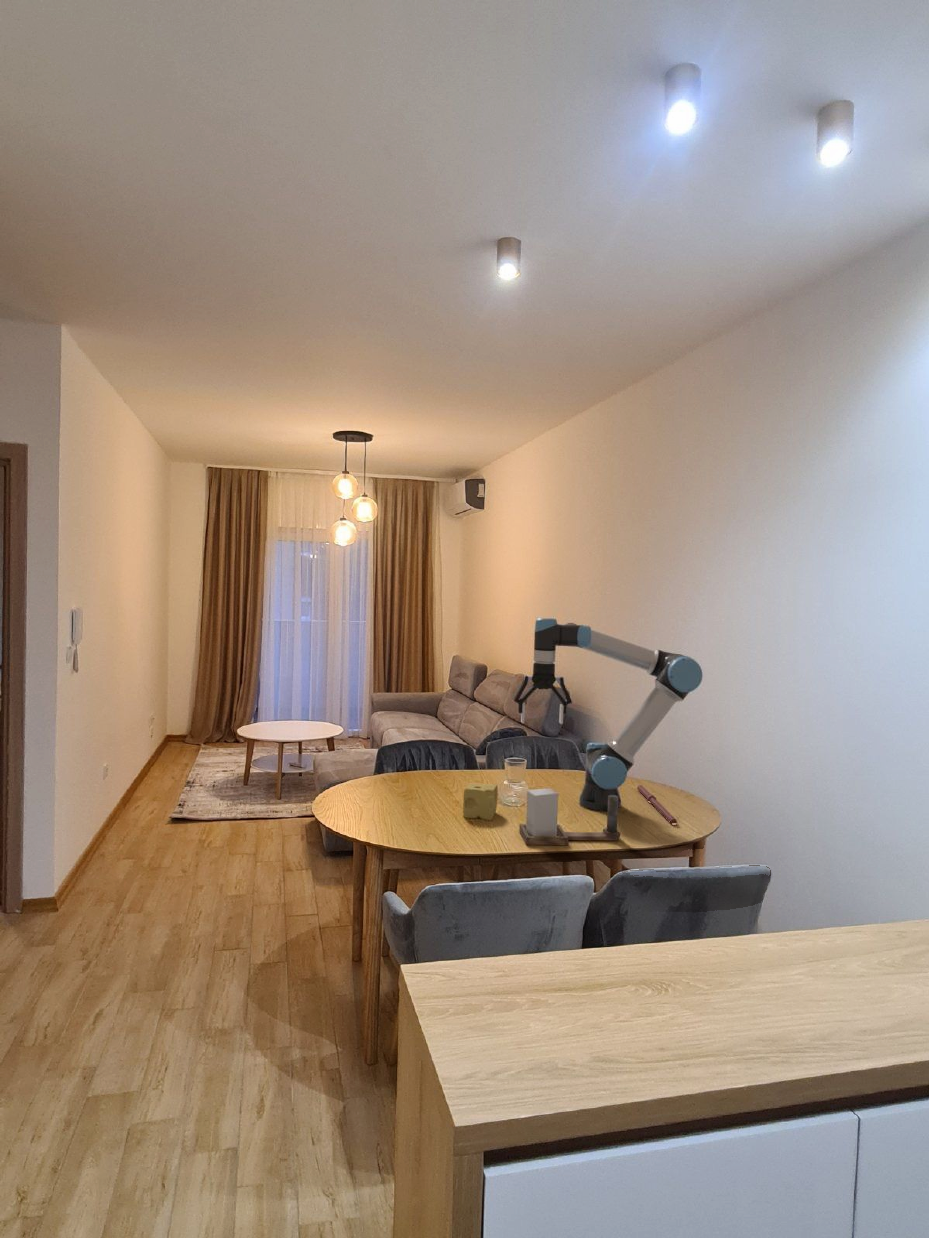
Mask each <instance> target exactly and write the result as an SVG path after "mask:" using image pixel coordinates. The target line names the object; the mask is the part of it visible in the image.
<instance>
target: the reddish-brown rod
mask: <svg viewBox="0 0 929 1238" xmlns="http://www.w3.org/2000/svg"><path fill="white" fill-rule="evenodd" d="M636 789H637V791H638V792H639V793H640V794H641V793H642V794H643V795H644V796H645V797H646V798H647V799H646V801H647V802H648V801H650V802H651V803H652V804H653V805H654V806H655V807H654V806H653V805H652V804H651V805H652V806H653V807H654V808H655V809H656V808H657V809H658V810H657V809H656V810H657V812H659V811H660V812H661V813H660V812H659V813H660V814H661V815H662V814H663V815H664V816H663V815H662V816H663V817H664V818H665V819H666V818H667V819H666V820H667V821H668V822H669V821H670V822H671V823H677V824H678V820H677V818H675V817H674V816H673V815H672V814H671V813H670V812H669V810H667V809H666V808H665V807H664V806H663V805H662V804H661V803H660V802H659V801H658V800H657V797H655V795H653V794H651V793H650V792H649V791H648V790H647V789H646V788H645V787H644V786H643V785H641V784H639V785H637V787H636ZM642 794H641V795H642ZM643 795H642V796H643ZM644 796H643V797H644ZM670 822H669V823H670ZM671 823H670V824H671Z"/></svg>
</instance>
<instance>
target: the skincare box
mask: <svg viewBox="0 0 929 1238" xmlns="http://www.w3.org/2000/svg"><path fill="white" fill-rule="evenodd" d="M558 806H559V793H558V792H557V791H555V790H553V789H552V788H550V787H549V788H539V789H527V790H526V813H525V814H526V815H525V817H526V818H525V819H526V820H525V824H526V831H527V833H528V835H529V836H542V837H558V834H557V825H558V809H559V807H558Z"/></svg>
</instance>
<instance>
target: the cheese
mask: <svg viewBox="0 0 929 1238" xmlns="http://www.w3.org/2000/svg"><path fill="white" fill-rule="evenodd" d="M498 788H499V787H498V784H497V783H496V784H495V783H477V782H469V783H468V784H467V786H466V787H465V788H464V790H463V804H462V805H463V806H462V807H463V808H462V810H463V812H462V814H463V815H462V816H463V818H470V819H479V818H480V819H481V820H488V821H492V820H493V818H494V816H495V814H497V813H496V812H497V806H498V800H499V799H498V798H499V797H498V795H499V793H498V791H499V790H498Z"/></svg>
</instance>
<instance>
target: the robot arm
mask: <svg viewBox="0 0 929 1238" xmlns="http://www.w3.org/2000/svg"><path fill="white" fill-rule="evenodd" d="M556 647H577V648H580V649H583V650H586V651H588V652H591V653H595V654H598V655H600V656H603V657H607V658H608V659H609V658H610V659H612V660H615V661H618V662H621V663H623V664H626V665H629V666H632V667H635V668H638V669H641V670H644V671H646V672H647V674H648V675H649V676H653V677H655V679H654V683H655V684H654V685H655V686H654V687H653V689H652V691H651V692H650V693H649V694H648V695H647V696H646V698H645V699H644V701H643V702H642V703H641V705H640V706H639V707H638V709H637V710H636V711H635V712H634V714H633V715H632V716H631V718H630V719H629V720H628V722H627V723H626V725H625V726H624V727H623V728H622V729H621V731H620V732H619V734H618V735H617V736H616V738H614V740H613V741H607V742H589V743H587V744H586V750H585V752H586V755H585V780H584V785H583V787H582V790H581V793H580V795H579V800H578V801H579V802H578V803H579V804H578V805H580V806H581V807H583V808H585V809H588V808H590V809H589V810H592V809H593V810H592V811H599V810H602V811H603V812H608V811H607V810H608V796H609V795H615V796H618V797H619V798H618V808H620V807H621V808H622V799H621V796H620V791H619V787H621V786H622V785H623V784H625V782H626V779H627V777H628V773H629V771H630V769H631V768H632V767H633V766H634V764H635V759H634V757H635V755H636V754H637V753H638V752H639V751H640V749H641V748H642V746H643V745H644V744H645V743H646V741H647V740H648V739H649V737H650V736H651V735H652V734H653V732H654V731H655V730H656V729H657V727H658V726H659V724H660V723H661V722H662V721H663V719H664V718H665V717H666V715H667V714H668V713H669V711H671V709H672V708H673V706H674V705H675V704H676V703H678V702H683V701H684V700H685V698H686V697H687V696H688V695H689V693H690V692H691V693H692V692H693V691H695V690H697V689H698V687H699V686H700V685H701V683H702V682H703V677H704V675H703V670H702V667H701V665H700V664H699V663H698V662H697V661H696V660H695V659H694V658H692V657H691V656H687V655H683V654H681V653H675V652H674V653H672V652H668V651H664V650H660V649H655V650H652V649H649V648H646V647H643V646H640V645H637V644H634V643H631V642H629V641H626V640H622V639H620V638H616V637H614V636H611V635H608V634H605V633H602V632H599V631H596V630H593V629H592V628H591V626H590V625H583V624H579V625H578V624H576V623H573V622H567V623H565V624H559V623H558V621H557V619H556V618H552V617H551V618H550V617H547V618H546V617H538V618H537V619H536V620H535V625H534V643H533V649H534V650H533V661H534V662H533V666H532V669H533V670H532V676H528V675H523V680H522V683H521V684H520V686H519V688H518V690H517V692H516V694H515V695H514V697H513V702H515V703H517V704H518V714H520V722H521V723H522V724H525V716H526V715H525V714H526V713H525V710H526V709H525V708H526V704H525V702H526V701H527V700H528V698H530V696H531V695H532V694H533V693H534V691H536V690H537V689H538V690H543V689H544V690H549V689H550V690H551V691H552V692H553V694H554V695H555V697H557V699H558V700H559V701H560V702H561V703H560V704H559V713H558V714H559V716H558V723H559V724H560V725H563V724H564V715H567V706H568V705H569V704H572V703H573V701H572V699H571V696H570V694H569V692H568V689H567V687H566V685H565V680H564V677H563V676H560V675H559V676H557V677H556V676H555V674H556V664H555V662H556V650H557V648H556ZM531 681H532V684H531V686H530V687H529V689H528V690H526V692H525V693H524V690H525V689H526V687H527V685H528V683H530V682H531ZM555 682H557V684H559V686H560V689H561V690H562V693H563V696H564V697H563V696H562V695H561V693H560V692H559V691H558V689H556V687H555V686H554V684H555ZM523 693H524V694H523ZM522 695H523V696H522ZM564 698H565V699H564ZM621 808H620V809H621ZM602 811H601V812H602Z"/></svg>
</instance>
